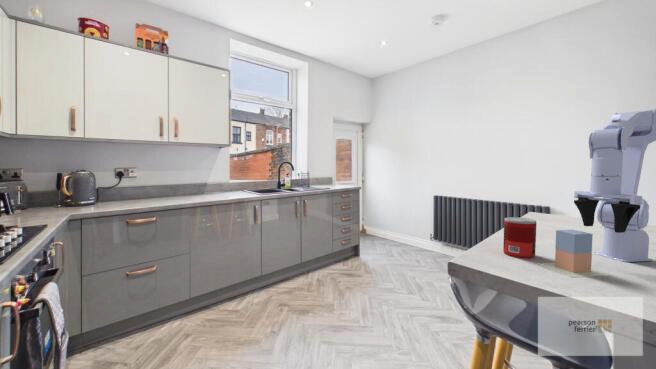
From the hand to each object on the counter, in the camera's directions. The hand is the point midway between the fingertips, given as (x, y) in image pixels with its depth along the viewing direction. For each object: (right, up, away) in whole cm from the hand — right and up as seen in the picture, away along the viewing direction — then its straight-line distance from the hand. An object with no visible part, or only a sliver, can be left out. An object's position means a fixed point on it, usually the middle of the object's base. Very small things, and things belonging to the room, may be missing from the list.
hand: (603, 229), depth 74 cm
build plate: (-8, -11, 0) cm, 13 cm away
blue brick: (-9, -5, -1) cm, 10 cm away
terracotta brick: (-8, -10, 0) cm, 13 cm away
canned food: (-14, -10, +12) cm, 21 cm away
